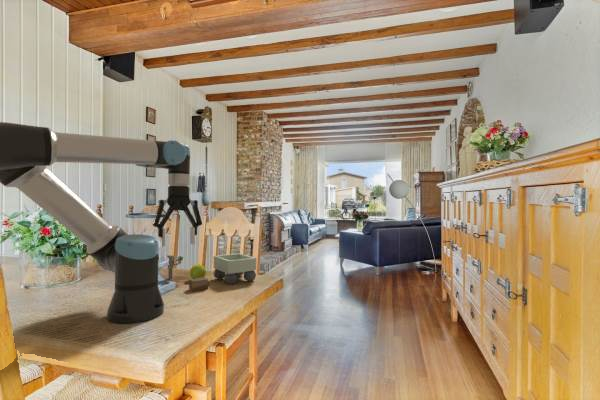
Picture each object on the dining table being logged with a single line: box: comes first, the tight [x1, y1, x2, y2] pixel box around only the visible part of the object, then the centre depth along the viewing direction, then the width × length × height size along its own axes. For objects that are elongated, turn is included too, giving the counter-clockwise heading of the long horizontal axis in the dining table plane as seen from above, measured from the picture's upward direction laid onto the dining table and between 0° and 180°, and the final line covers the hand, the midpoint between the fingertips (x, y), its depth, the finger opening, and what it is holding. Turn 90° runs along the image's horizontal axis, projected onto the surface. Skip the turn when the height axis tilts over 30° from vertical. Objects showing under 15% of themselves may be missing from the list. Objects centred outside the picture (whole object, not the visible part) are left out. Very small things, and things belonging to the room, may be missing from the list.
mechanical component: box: [166, 254, 184, 280], centre depth 141 cm, size 3×10×10 cm, turn 89°
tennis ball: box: [189, 264, 207, 279], centre depth 139 cm, size 7×7×7 cm
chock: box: [188, 276, 209, 293], centre depth 124 cm, size 4×6×4 cm, turn 129°
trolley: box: [213, 253, 257, 285], centre depth 140 cm, size 15×14×10 cm
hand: (178, 245), depth 120 cm, fingers open, 10 cm apart
